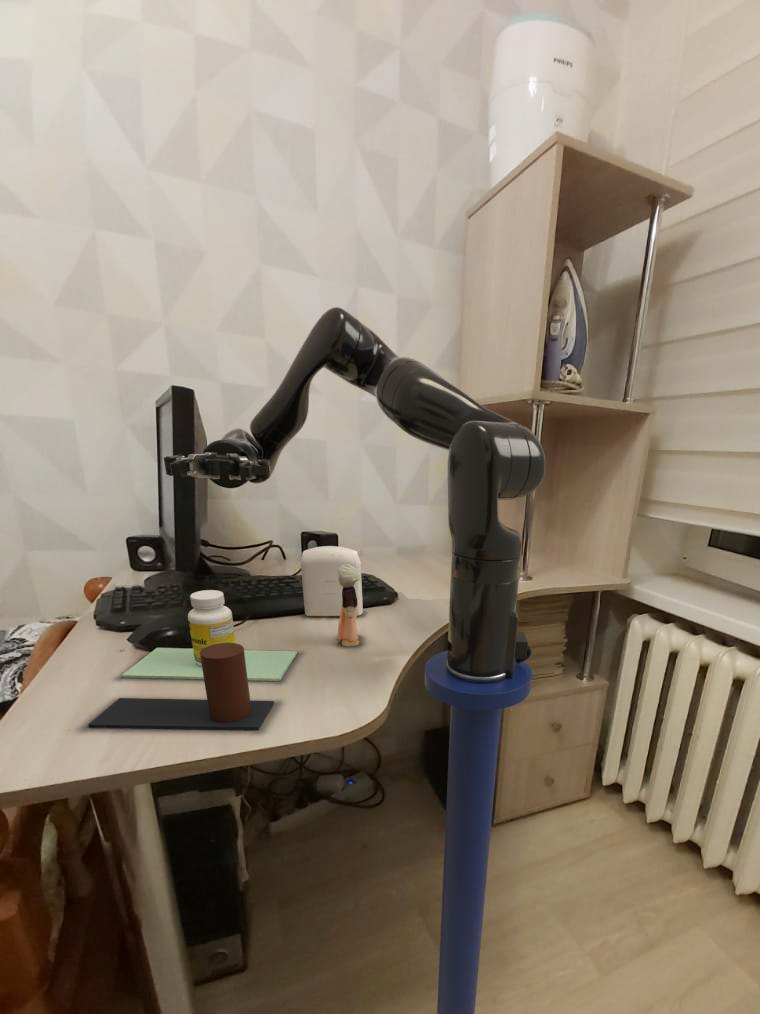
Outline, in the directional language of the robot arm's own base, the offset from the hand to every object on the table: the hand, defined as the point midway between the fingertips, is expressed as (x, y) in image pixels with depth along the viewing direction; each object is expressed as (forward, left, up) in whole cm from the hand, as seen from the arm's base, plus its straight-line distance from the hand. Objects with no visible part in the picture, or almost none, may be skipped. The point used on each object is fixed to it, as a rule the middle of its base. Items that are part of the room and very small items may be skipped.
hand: (210, 471), depth 73 cm
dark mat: (-4, +25, -25) cm, 35 cm away
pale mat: (-2, +11, -25) cm, 28 cm away
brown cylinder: (-9, +25, -25) cm, 36 cm away
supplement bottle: (-2, +11, -25) cm, 27 cm away
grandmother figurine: (-19, +2, -25) cm, 32 cm away
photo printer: (-14, -11, -25) cm, 31 cm away
